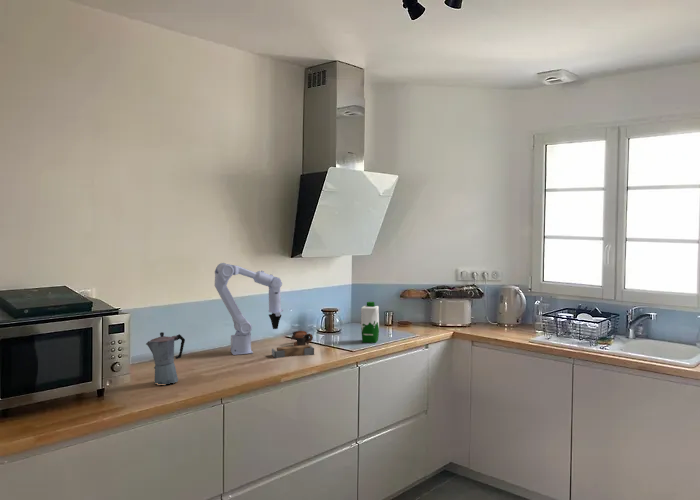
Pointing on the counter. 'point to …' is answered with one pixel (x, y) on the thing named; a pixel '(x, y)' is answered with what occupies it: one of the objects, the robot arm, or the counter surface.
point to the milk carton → (370, 323)
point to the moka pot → (165, 358)
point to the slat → (293, 350)
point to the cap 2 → (309, 351)
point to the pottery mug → (301, 338)
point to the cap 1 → (278, 353)
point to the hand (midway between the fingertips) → (275, 328)
